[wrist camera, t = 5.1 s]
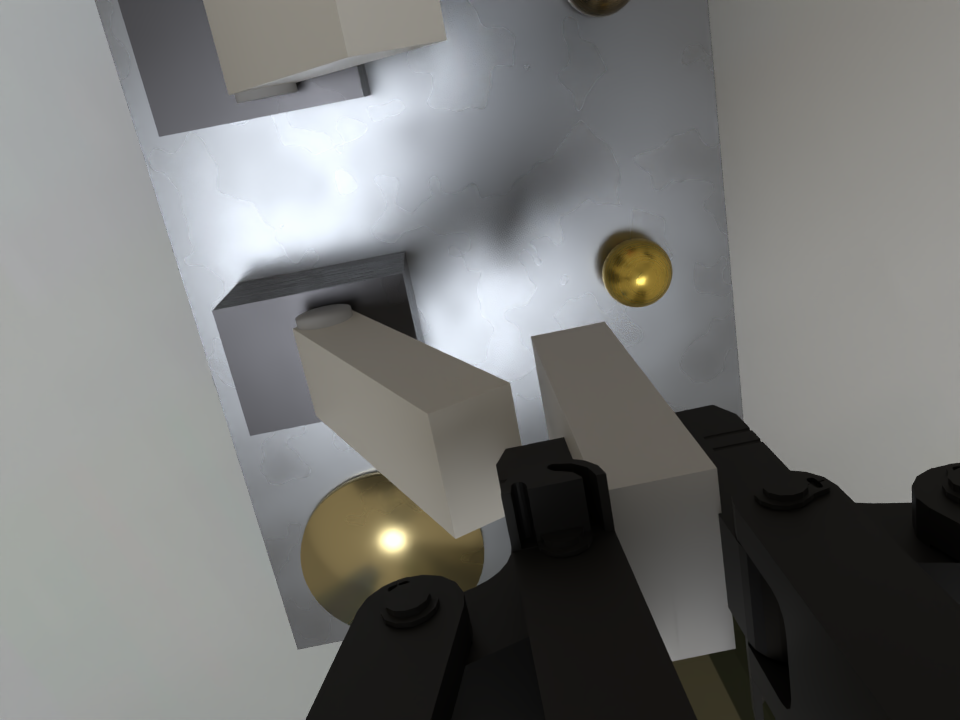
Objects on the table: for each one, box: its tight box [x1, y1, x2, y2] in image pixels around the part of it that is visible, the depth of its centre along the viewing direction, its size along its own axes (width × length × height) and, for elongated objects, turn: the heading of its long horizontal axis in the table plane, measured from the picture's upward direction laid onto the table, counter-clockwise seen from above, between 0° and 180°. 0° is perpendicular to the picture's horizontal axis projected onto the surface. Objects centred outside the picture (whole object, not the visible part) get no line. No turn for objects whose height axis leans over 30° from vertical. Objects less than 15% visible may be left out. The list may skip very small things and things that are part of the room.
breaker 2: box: [292, 304, 522, 539], centre depth 18 cm, size 3×2×8 cm, turn 10°
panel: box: [95, 0, 743, 649], centre depth 24 cm, size 24×16×5 cm, turn 10°
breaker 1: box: [203, 0, 447, 103], centre depth 15 cm, size 3×2×8 cm, turn 10°
